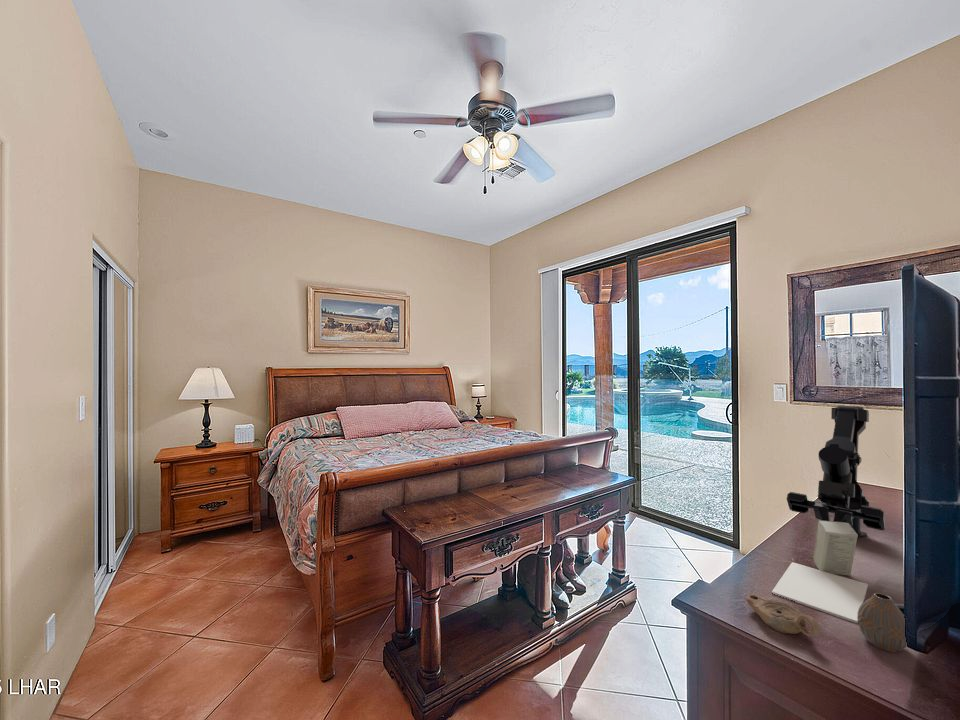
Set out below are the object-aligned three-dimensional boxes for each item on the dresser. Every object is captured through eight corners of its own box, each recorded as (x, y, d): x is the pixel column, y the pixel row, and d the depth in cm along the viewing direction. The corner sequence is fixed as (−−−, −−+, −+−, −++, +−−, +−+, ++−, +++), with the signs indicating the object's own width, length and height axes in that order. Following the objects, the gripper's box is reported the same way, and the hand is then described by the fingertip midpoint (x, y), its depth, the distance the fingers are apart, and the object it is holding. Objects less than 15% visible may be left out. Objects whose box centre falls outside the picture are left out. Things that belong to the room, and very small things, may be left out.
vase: (922, 660, 70) (921, 609, 70) (875, 655, 71) (874, 604, 71) (890, 634, 76) (890, 587, 77) (848, 629, 78) (847, 583, 78)
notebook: (792, 564, 103) (792, 562, 103) (867, 586, 93) (867, 584, 93) (771, 593, 90) (771, 591, 90) (857, 623, 80) (857, 621, 80)
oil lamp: (737, 610, 84) (737, 586, 84) (765, 604, 86) (765, 581, 86) (801, 653, 72) (800, 625, 72) (833, 646, 73) (832, 618, 73)
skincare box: (841, 563, 101) (849, 522, 98) (851, 577, 97) (859, 535, 94) (811, 559, 103) (818, 519, 100) (819, 572, 99) (826, 531, 96)
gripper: (788, 462, 111) (778, 511, 104) (883, 476, 97) (880, 534, 90) (794, 485, 116) (785, 534, 109) (886, 501, 103) (883, 559, 95)
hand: (829, 539), depth 101 cm, fingers closed
